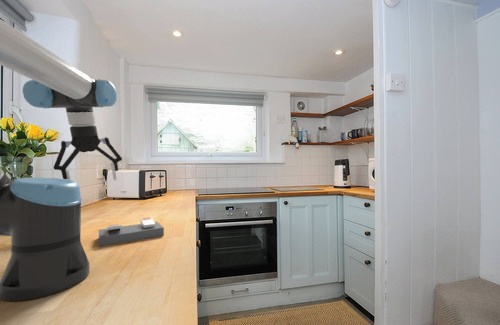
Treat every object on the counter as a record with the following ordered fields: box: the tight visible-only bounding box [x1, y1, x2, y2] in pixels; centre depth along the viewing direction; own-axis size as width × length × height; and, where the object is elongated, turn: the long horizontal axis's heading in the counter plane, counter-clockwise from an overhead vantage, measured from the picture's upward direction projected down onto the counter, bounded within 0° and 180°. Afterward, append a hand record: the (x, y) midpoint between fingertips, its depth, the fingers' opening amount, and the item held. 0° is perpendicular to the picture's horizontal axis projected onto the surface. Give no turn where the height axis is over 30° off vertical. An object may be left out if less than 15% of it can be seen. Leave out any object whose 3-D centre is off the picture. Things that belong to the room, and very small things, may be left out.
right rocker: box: [139, 216, 156, 228], centre depth 86 cm, size 7×4×1 cm, turn 35°
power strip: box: [98, 221, 165, 248], centre depth 83 cm, size 11×20×4 cm, turn 125°
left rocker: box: [106, 223, 122, 230], centre depth 80 cm, size 7×4×1 cm, turn 35°
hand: (94, 183), depth 84 cm, fingers open, 13 cm apart
